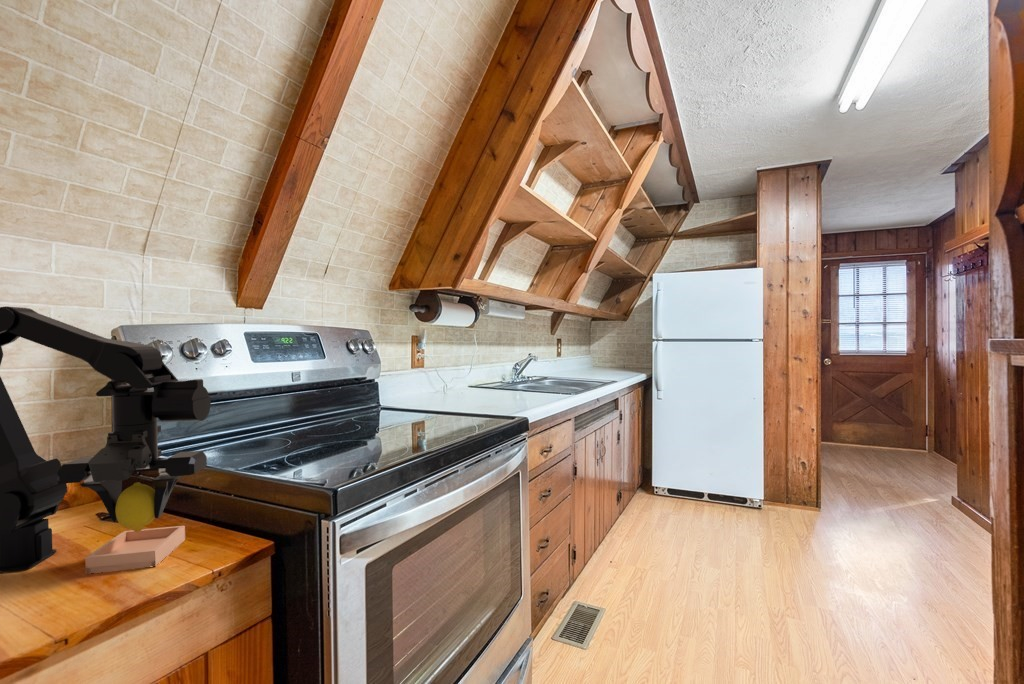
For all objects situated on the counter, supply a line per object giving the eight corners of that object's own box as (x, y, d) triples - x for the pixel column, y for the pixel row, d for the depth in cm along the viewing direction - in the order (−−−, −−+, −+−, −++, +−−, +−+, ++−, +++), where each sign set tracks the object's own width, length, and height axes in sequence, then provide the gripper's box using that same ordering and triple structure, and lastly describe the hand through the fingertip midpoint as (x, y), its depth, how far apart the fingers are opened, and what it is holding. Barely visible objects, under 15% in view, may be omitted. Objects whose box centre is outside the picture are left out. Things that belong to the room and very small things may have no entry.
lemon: (108, 534, 78) (107, 484, 78) (147, 523, 83) (147, 475, 83) (126, 541, 76) (125, 489, 75) (166, 528, 80) (165, 480, 80)
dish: (85, 574, 73) (85, 557, 73) (124, 545, 83) (124, 531, 83) (155, 567, 75) (155, 550, 75) (185, 539, 85) (184, 525, 85)
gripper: (29, 435, 69) (31, 546, 69) (177, 428, 73) (179, 533, 73) (80, 422, 80) (82, 518, 80) (207, 417, 84) (208, 507, 84)
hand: (137, 519), depth 79 cm, fingers closed on lemon, 5 cm apart
